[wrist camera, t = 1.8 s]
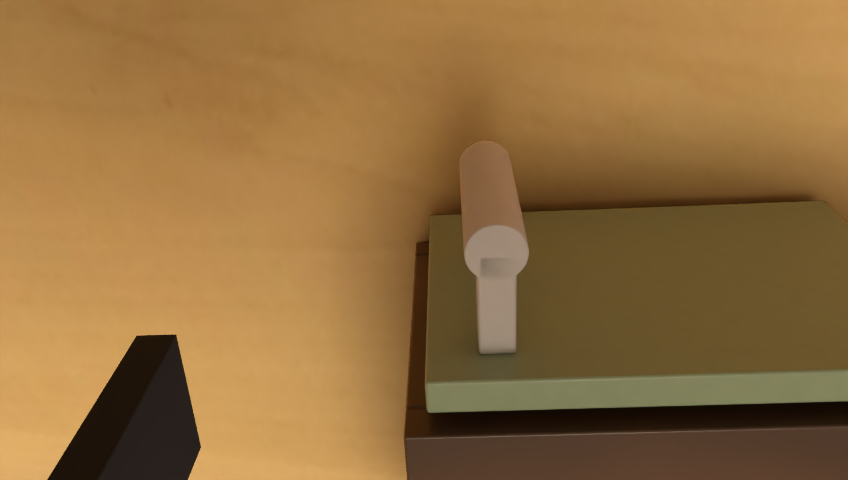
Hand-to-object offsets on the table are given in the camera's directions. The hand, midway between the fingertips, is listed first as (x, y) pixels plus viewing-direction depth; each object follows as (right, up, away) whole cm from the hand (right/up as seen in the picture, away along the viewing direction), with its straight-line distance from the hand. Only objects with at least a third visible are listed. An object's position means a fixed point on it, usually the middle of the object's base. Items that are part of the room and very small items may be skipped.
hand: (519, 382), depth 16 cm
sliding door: (+5, +5, +13) cm, 15 cm away
